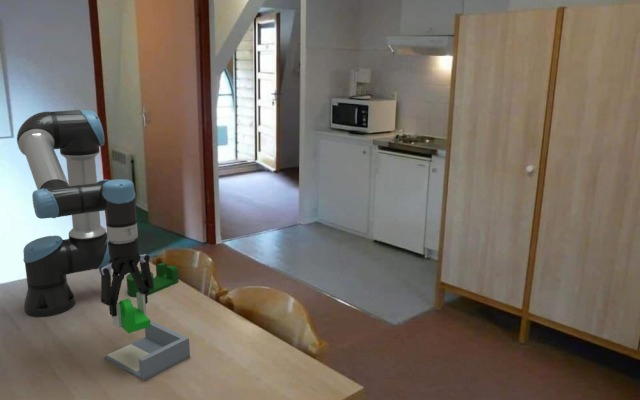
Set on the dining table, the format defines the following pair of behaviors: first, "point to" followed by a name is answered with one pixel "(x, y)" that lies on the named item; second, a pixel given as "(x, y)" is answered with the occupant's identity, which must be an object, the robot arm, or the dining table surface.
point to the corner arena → (152, 352)
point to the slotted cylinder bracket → (155, 279)
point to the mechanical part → (132, 317)
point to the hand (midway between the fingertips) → (130, 320)
